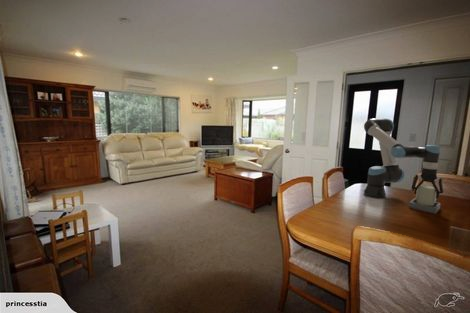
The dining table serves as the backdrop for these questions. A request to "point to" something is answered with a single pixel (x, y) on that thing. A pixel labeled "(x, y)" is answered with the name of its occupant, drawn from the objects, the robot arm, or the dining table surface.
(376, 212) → the dining table surface
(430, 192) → the can
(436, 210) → the tray
